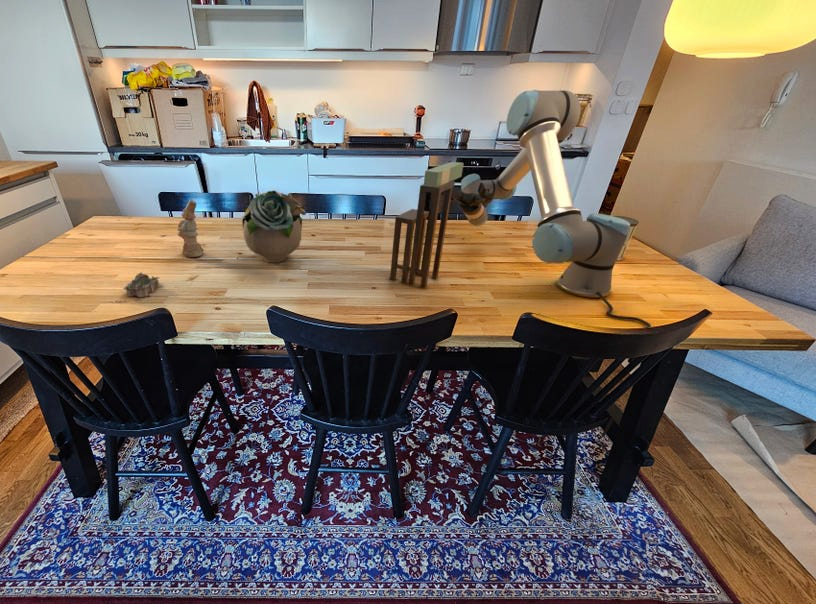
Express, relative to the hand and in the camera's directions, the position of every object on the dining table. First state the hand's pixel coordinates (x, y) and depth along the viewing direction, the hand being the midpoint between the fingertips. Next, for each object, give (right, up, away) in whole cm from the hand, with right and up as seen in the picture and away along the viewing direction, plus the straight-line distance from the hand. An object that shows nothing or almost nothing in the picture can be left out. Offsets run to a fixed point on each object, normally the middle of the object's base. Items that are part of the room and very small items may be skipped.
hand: (460, 184), depth 133 cm
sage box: (-9, -5, -13) cm, 16 cm away
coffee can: (+66, -18, +23) cm, 72 cm away
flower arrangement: (-65, -21, +18) cm, 71 cm away
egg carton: (-104, -37, -6) cm, 110 cm away
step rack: (-15, -31, +4) cm, 34 cm away
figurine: (-98, -18, +21) cm, 102 cm away
